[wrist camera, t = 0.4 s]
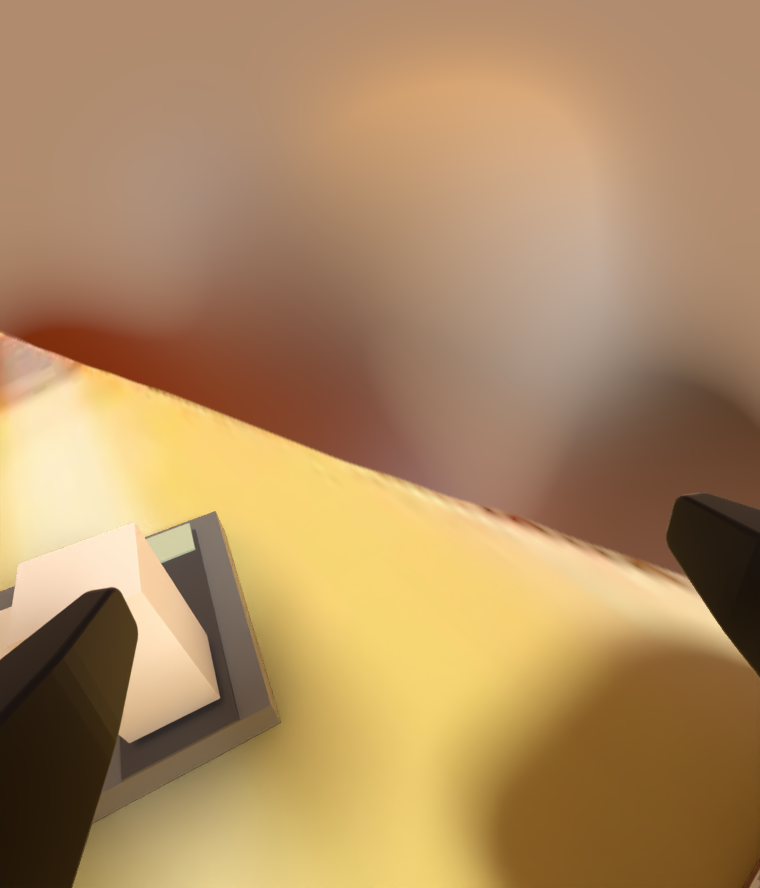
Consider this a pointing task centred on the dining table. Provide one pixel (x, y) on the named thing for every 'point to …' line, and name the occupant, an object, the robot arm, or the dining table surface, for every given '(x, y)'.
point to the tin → (754, 878)
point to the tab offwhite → (154, 609)
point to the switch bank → (234, 659)
